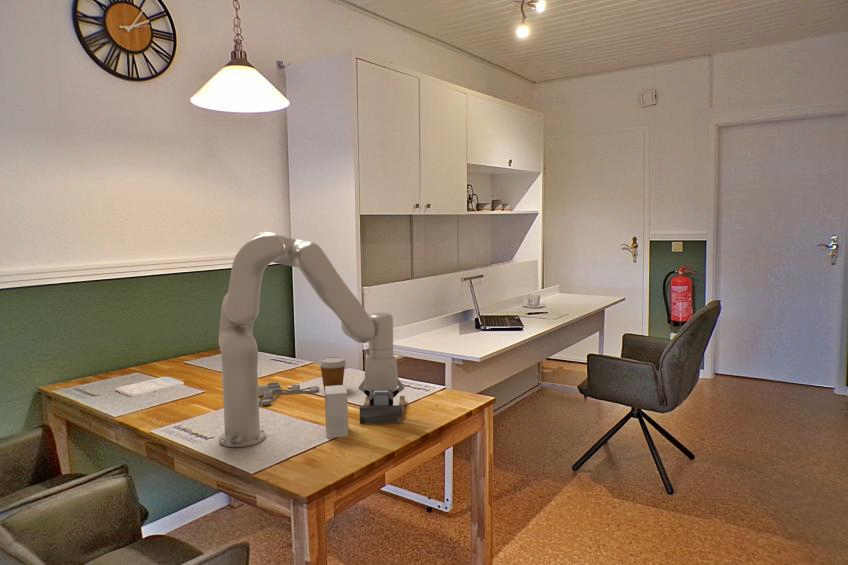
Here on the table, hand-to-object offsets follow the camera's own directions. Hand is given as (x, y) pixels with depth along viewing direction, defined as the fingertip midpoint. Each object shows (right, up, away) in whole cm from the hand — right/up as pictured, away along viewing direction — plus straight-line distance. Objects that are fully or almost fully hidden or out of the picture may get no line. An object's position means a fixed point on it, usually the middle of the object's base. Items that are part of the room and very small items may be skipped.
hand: (381, 409), depth 182 cm
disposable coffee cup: (-19, 0, +28) cm, 34 cm away
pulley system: (-38, -1, +25) cm, 45 cm away
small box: (-12, -4, -11) cm, 17 cm away
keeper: (0, -1, 0) cm, 1 cm away
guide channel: (0, -2, +6) cm, 7 cm away
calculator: (-88, 0, +35) cm, 95 cm away
